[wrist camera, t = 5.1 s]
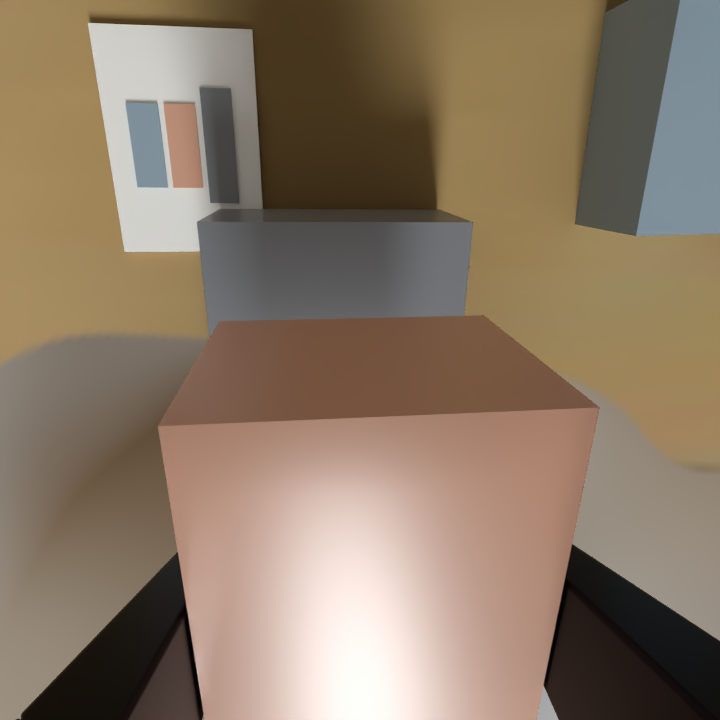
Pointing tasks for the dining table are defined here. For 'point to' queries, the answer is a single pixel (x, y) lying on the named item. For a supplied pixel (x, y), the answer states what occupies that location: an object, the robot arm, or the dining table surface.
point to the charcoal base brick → (333, 264)
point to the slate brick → (655, 121)
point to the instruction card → (177, 127)
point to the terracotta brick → (373, 517)
